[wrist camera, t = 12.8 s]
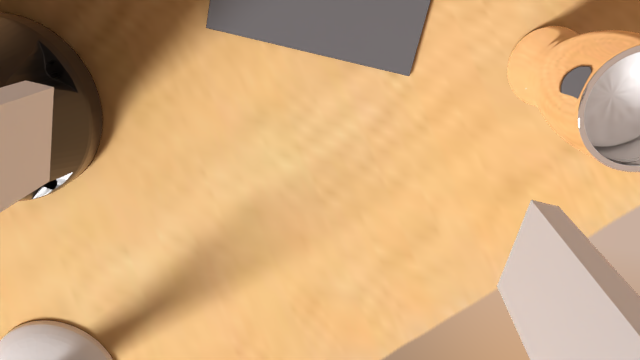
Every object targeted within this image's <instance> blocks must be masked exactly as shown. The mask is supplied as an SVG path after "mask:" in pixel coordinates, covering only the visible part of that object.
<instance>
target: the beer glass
mask: <svg viewBox="0 0 640 360" xmlns="http://www.w3.org/2000/svg"><path fill="white" fill-rule="evenodd" d="M507 77H508V82H509V85H510V87H511V89H512V91H513V92H514V94H515V95H516V96H517V97H518V98H519V99H520V100H522V101H523V102H525V103H527V104H529V105H532V106H536V107H538V109H539V110H540V112H541V114H542V116H543V118H544V119H545V120H546V122H547V123H548V125H549V126H550V127H551V129H552V130H553V131H554V132H555V133H556V134H558V135H559V136H560V137H561V138H562V139H563V140H564V141H566V142H567V143H568V144H570V145H571V146H573V147H574V148H576V149H577V150H579V151H581V152H583V153H584V154H586V155H588V156H590V157H592V158H594V159H596V160H598V161H599V162H601V163H602V164H604V165H606V166H608V167H610V168H613V169H616V170H620V171H627V172H640V33H636V32H630V31H620V30H602V31H592V32H587V33H582V34H578V33H576V32H575V31H573V30H571V29H569V28H566V27H562V26H546V27H542V28H539V29H536V30H534V31H532V32H531V33H529V34H527V35H526V36H525V37H524V38H522V39H521V40H520V41H519V43H518V44H517V45H516V46H515V48H514V49H513V51H512V53H511V55H510V58H509V61H508V66H507Z"/></svg>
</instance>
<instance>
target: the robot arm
mask: <svg viewBox="0 0 640 360" xmlns="http://www.w3.org/2000/svg"><path fill="white" fill-rule="evenodd" d="M101 134H102V108H101V103H100V99H99V95H98V92H97V89H96V86H95V83H94V81H93V79H92V77H91V75H90V73H89V71H88V69H87V68H86V66H85V65H84V63H83V62H82V60H81V59H80V58H79V56H78V55H77V54H76V53H75V51H74V50H73V49H72V48H71V47H70V46H69V45H68V44H67V43H66V42H65V41H64V40H63V39H61V38H60V37H59V36H58V35H56V34H55V33H54V32H52V31H51V30H49V29H48V28H46V27H44V26H43V25H41V24H39V23H37V22H35V21H32V20H30V19H28V18H25V17H22V16H18V15H14V14H9V13H2V12H0V212H1V211H3V210H5V209H6V208H8V207H9V206H11V205H13V204H14V203H16V202H17V201H23V200H31V199H36V198H40V197H43V196H46V195H48V194H51V193H53V192H55V191H57V190H59V189H60V188H62V187H63V186H65V185H66V184H68V183H69V182H71V181H72V180H74V179H75V178H77V177H78V176H79V175H80V174H81V173H82V172H83V171H84V170H85V169H86V168H87V167H88V165H89V164H90V163H91V161H92V159H93V158H94V156H95V154H96V151H97V149H98V146H99V143H100V139H101ZM497 288H498V290H499V292H500V294H501V296H502V299H503V300H504V303H505V305H506V307H507V310H508V312H509V314H510V316H511V318H512V321H513V323H514V325H515V327H516V329H517V332H518V334H519V336H520V338H521V340H522V343H523V345H524V347H525V349H526V351H527V353H528V355H529V357H530V360H640V296H639V295H638V294H637V293H636V292H635V291H634V290H633V289H632V287H631V286H630V285H629V284H628V283H627V282H626V281H625V280H624V279H623V278H622V276H621V275H620V274H619V273H618V272H617V271H616V270H615V269H614V267H613V266H612V265H611V264H610V263H609V262H608V261H607V260H606V259H605V257H604V256H603V255H602V254H601V253H600V252H599V251H598V250H597V249H596V247H595V246H594V245H593V244H592V243H591V242H590V241H589V240H588V239H587V237H586V236H585V235H584V234H583V233H582V232H581V231H580V230H579V229H578V227H577V226H576V225H575V224H574V223H573V222H572V221H571V220H570V219H569V217H568V216H567V215H566V214H565V213H564V212H563V211H562V210H561V209H560V207H559V206H554V205H550V204H546V203H542V202H537V201H533V200H531V202H530V204H529V207H528V209H527V212H526V214H525V217H524V219H523V222H522V224H521V227H520V229H519V232H518V234H517V237H516V239H515V242H514V245H513V247H512V250H511V252H510V255H509V257H508V260H507V262H506V265H505V267H504V270H503V272H502V275H501V277H500V280H499V282H498V285H497Z"/></svg>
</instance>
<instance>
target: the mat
mask: <svg viewBox="0 0 640 360" xmlns="http://www.w3.org/2000/svg"><path fill="white" fill-rule="evenodd" d="M429 4H430V0H210V4H209V11H208V18H207V25H206V28H209V29H213V30H217V31H222V32H226V33H230V34H234V35H238V36H243V37H247V38H251V39H255V40H259V41H264V42H268V43H272V44H276V45H280V46H285V47H289V48H293V49H297V50H301V51H306V52H310V53H314V54H318V55H322V56H327V57H331V58H335V59H339V60H343V61H347V62H352V63H356V64H360V65H364V66H368V67H373V68H377V69H381V70H385V71H389V72H394V73H398V74H402V75H406V76H409V75H410V71H411V68H412V64H413V61H414V57H415V54H416V50H417V46H418V43H419V39H420V36H421V32H422V29H423V25H424V22H425V18H426V15H427V11H428V8H429Z"/></svg>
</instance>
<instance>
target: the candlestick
mask: <svg viewBox="0 0 640 360" xmlns="http://www.w3.org/2000/svg"><path fill="white" fill-rule="evenodd" d="M0 360H113V359H112V357H111V355H110V354H109V353H108V351H107V350H106V349H105V348H104V347H103V346H102V345H101V344H100V343H99V342H98V341H97V340H96V339H95V338H93V337H92V336H91V335H89V334H88V333H86V332H84V331H82V330H81V329H79V328H76V327H74V326H71V325H69V324H65V323H62V322H57V321H49V320H39V321H31V322H27V323H24V324H21V325H19V326H17V327H15V328H13V329H12V330H11V331H9V332H8V333H7V334H6V335H5V336H4V337H3V338H2V339H1V340H0Z"/></svg>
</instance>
